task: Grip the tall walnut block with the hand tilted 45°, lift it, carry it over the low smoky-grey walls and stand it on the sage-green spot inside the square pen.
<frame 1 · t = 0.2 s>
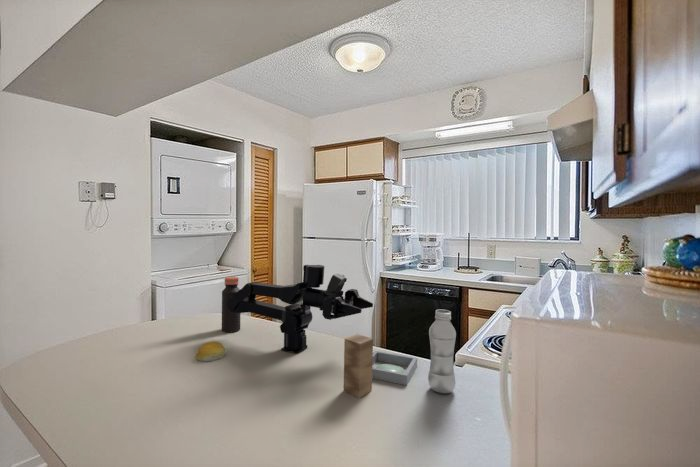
hand: (367, 307, 100), 17 cm above the countertop, tool horizontal, fingers open, 9 cm apart
vinegar: (231, 330, 129), on the countertop
walnut block: (357, 390, 84), on the countertop
plastic bottle: (441, 391, 85), on the countertop
bread roll: (210, 357, 104), on the countertop
walled pen: (389, 370, 96), on the countertop
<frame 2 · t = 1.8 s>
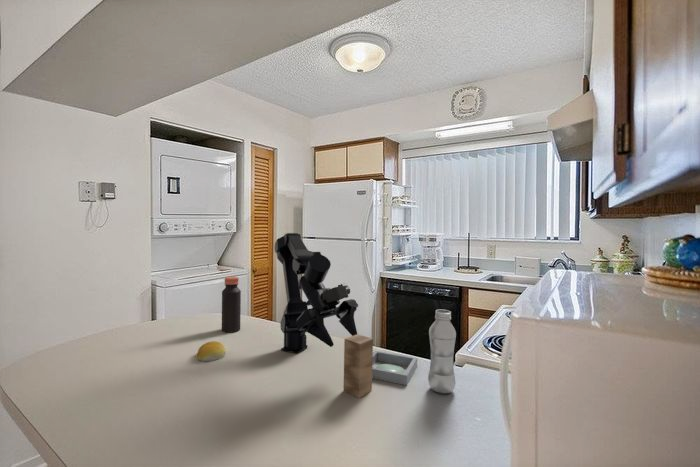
hand: (344, 341, 86), 11 cm above the countertop, tool tilted 45°, fingers open, 9 cm apart
nothing on the countertop moved.
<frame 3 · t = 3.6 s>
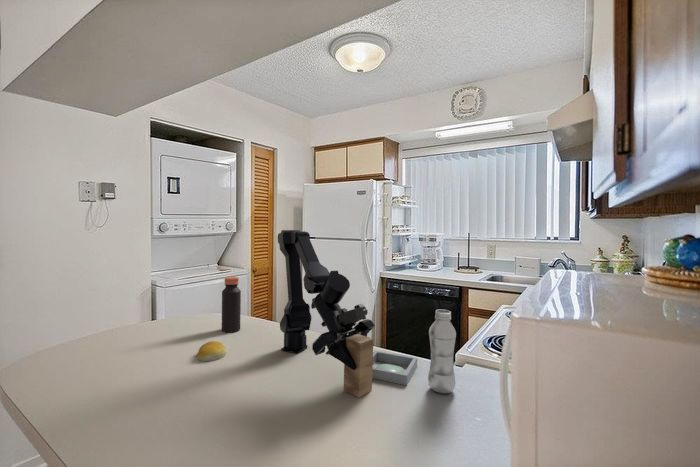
hand: (362, 365, 83), 7 cm above the countertop, tool tilted 45°, fingers closed on walnut block, 5 cm apart
walnut block: (357, 390, 84), on the countertop, touching gripper
everything else where it was.
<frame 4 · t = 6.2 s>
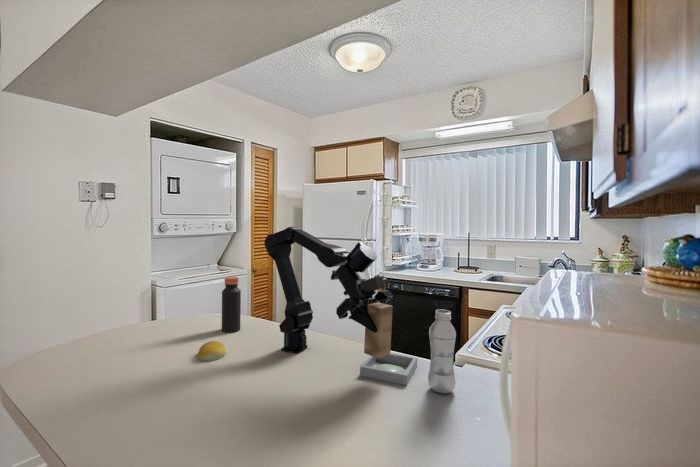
hand: (382, 329, 89), 13 cm above the countertop, tool tilted 45°, fingers closed on walnut block, 5 cm apart
walnut block: (377, 353, 90), point 7 cm above the countertop, touching gripper
everything else where it was.
when the fingers open (8 cm above the countertop, at t = 8.5 s): walnut block stays where it is, resting on walled pen.
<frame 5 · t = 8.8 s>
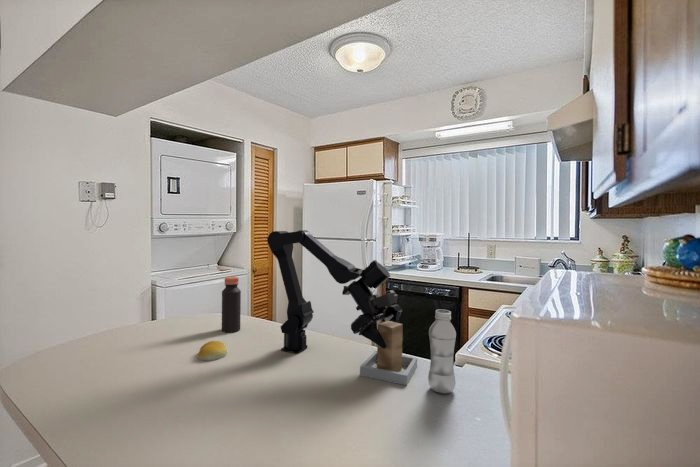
hand: (394, 343, 95), 8 cm above the countertop, tool tilted 45°, fingers open, 8 cm apart
walnut block: (389, 369, 96), resting on walled pen
everything else where it was.
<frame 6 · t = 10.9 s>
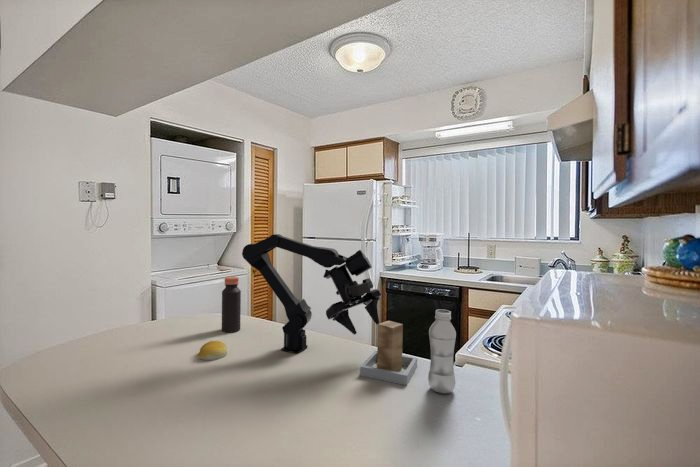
hand: (367, 328, 102), 10 cm above the countertop, tool tilted 35°, fingers open, 9 cm apart
nothing on the countertop moved.
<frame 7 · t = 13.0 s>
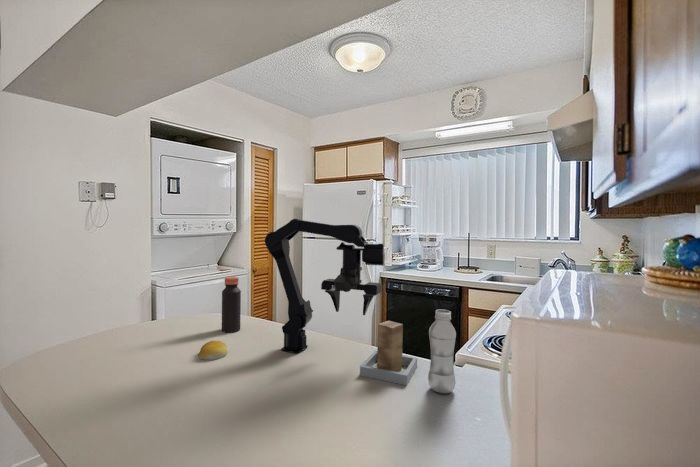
hand: (350, 313, 107), 13 cm above the countertop, tool pointing down, fingers open, 9 cm apart
at the end: walnut block 0.0 cm off-centre on the walled pen, point 0.3 cm above the walled pen's base; walnut block tilted 0°; the gripper is holding nothing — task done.
